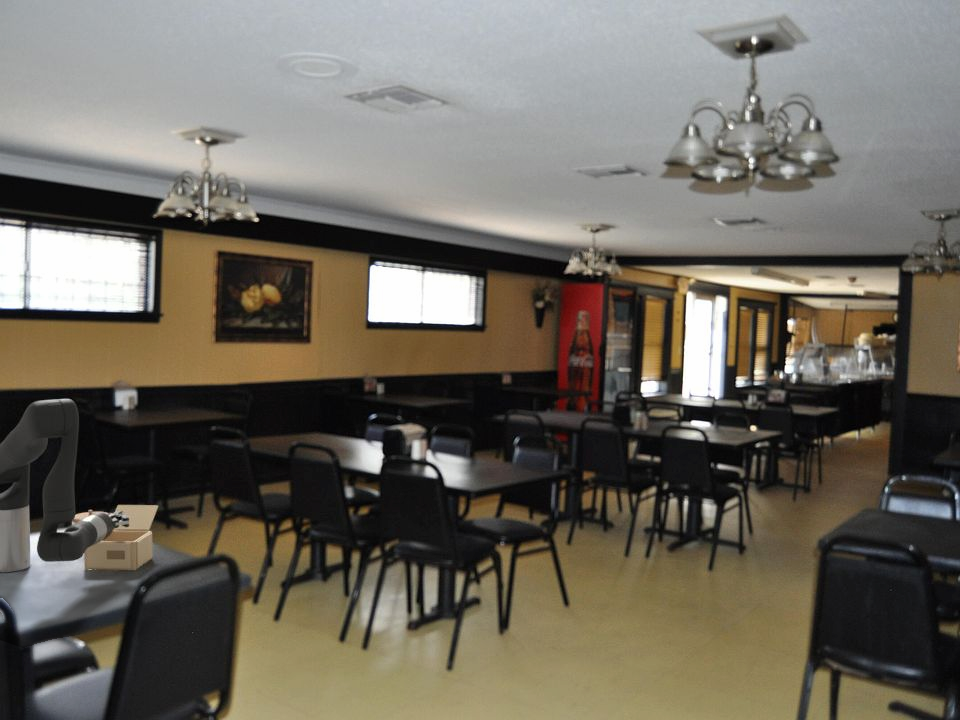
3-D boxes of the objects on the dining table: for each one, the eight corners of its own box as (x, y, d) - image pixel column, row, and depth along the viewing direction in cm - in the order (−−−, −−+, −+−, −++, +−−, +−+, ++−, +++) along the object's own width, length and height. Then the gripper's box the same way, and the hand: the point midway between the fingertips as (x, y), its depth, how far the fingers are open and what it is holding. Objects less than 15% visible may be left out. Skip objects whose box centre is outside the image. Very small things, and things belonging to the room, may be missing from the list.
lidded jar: (71, 537, 272) (70, 508, 271) (108, 534, 277) (107, 505, 276) (73, 546, 262) (72, 515, 262) (111, 541, 267) (110, 512, 267)
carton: (81, 570, 237) (81, 542, 237) (102, 557, 250) (102, 530, 249) (135, 571, 237) (135, 542, 237) (153, 558, 250) (153, 531, 249)
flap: (107, 529, 250) (117, 504, 256) (107, 530, 250) (118, 506, 257) (148, 529, 249) (157, 505, 256) (149, 530, 250) (158, 506, 257)
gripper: (116, 515, 226) (143, 501, 244) (66, 515, 227) (96, 501, 244) (117, 544, 227) (143, 527, 244) (67, 543, 227) (97, 527, 244)
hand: (120, 514), depth 244 cm, fingers closed
